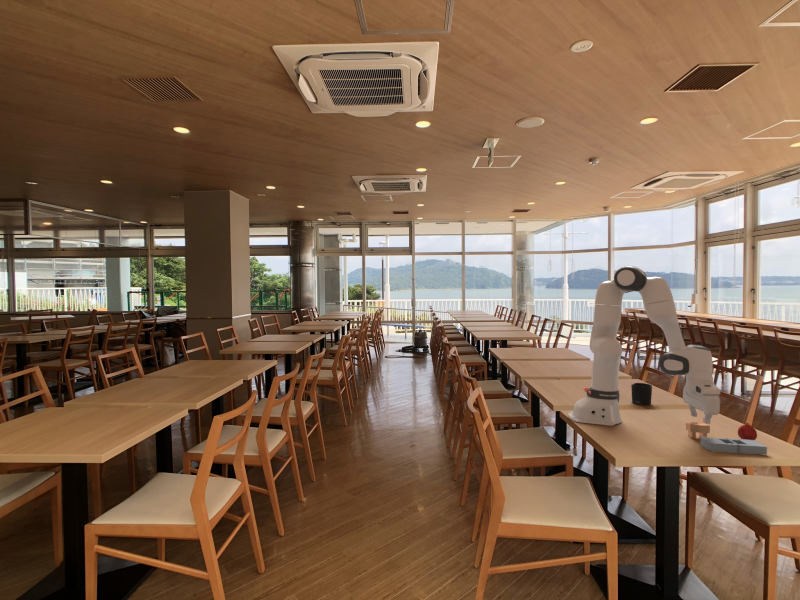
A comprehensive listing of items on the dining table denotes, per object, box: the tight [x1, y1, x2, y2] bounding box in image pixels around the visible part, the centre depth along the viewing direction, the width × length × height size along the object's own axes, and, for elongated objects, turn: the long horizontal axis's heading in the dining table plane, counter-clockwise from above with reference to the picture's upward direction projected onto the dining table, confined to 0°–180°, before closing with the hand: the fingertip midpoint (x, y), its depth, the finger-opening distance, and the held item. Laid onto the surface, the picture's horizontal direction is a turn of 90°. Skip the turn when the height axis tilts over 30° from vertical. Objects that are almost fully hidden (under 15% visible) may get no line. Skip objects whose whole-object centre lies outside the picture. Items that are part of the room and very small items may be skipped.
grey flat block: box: [700, 436, 768, 455], centre depth 153 cm, size 18×7×3 cm, turn 79°
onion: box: [737, 422, 758, 441], centre depth 160 cm, size 6×6×8 cm
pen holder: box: [631, 382, 653, 406], centre depth 217 cm, size 9×9×10 cm
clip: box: [685, 421, 711, 439], centre depth 166 cm, size 7×4×6 cm, turn 79°
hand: (700, 419), depth 165 cm, fingers open, 8 cm apart
